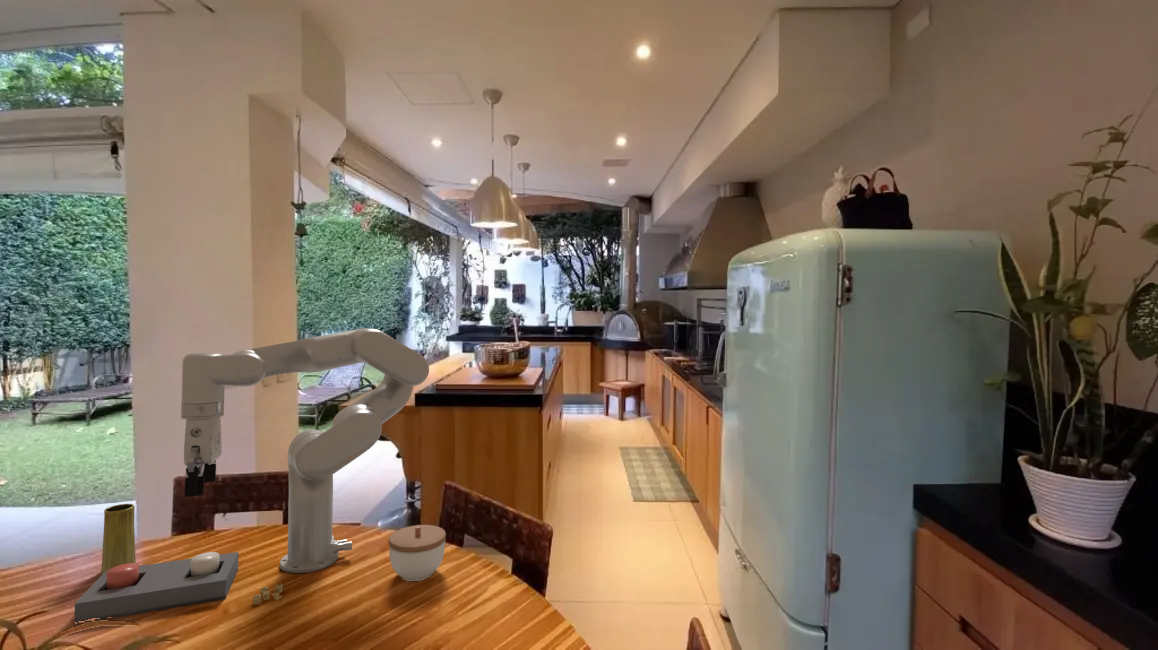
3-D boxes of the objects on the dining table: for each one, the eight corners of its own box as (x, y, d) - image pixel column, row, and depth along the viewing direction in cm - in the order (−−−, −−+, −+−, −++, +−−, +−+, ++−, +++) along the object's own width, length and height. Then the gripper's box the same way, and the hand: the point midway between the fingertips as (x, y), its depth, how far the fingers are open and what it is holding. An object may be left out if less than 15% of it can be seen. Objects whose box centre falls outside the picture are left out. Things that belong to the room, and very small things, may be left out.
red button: (142, 576, 109) (142, 561, 109) (133, 587, 105) (133, 572, 105) (112, 580, 107) (112, 565, 107) (101, 592, 103) (102, 576, 103)
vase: (114, 577, 115) (115, 513, 115) (93, 573, 117) (94, 511, 117) (142, 564, 121) (143, 504, 121) (122, 561, 123) (122, 501, 123)
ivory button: (221, 564, 115) (221, 550, 115) (216, 575, 111) (216, 560, 111) (194, 568, 113) (194, 554, 113) (187, 579, 109) (188, 564, 108)
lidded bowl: (375, 581, 116) (376, 532, 116) (413, 557, 128) (414, 513, 128) (421, 593, 111) (422, 542, 111) (456, 567, 123) (456, 521, 123)
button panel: (238, 568, 120) (238, 551, 120) (225, 598, 108) (225, 579, 108) (105, 589, 110) (106, 570, 110) (74, 624, 98) (74, 603, 98)
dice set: (252, 608, 105) (252, 599, 105) (257, 595, 110) (257, 586, 110) (280, 603, 107) (280, 594, 107) (284, 591, 112) (284, 582, 112)
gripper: (213, 416, 105) (211, 499, 105) (232, 403, 121) (230, 475, 121) (168, 417, 102) (165, 503, 103) (193, 404, 118) (191, 478, 118)
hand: (200, 488), depth 112 cm, fingers open, 9 cm apart
